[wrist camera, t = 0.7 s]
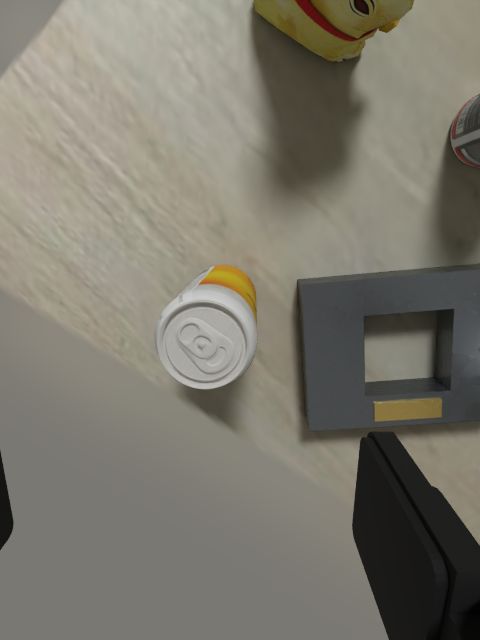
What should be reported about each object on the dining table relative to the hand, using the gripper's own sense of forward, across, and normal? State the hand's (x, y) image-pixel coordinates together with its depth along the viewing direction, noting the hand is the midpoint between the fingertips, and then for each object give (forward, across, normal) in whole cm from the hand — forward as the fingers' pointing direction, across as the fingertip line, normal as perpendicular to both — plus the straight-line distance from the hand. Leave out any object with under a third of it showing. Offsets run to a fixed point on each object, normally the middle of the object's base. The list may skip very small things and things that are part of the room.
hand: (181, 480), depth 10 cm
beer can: (+27, 0, +1) cm, 27 cm away
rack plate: (+26, -16, +5) cm, 31 cm away
